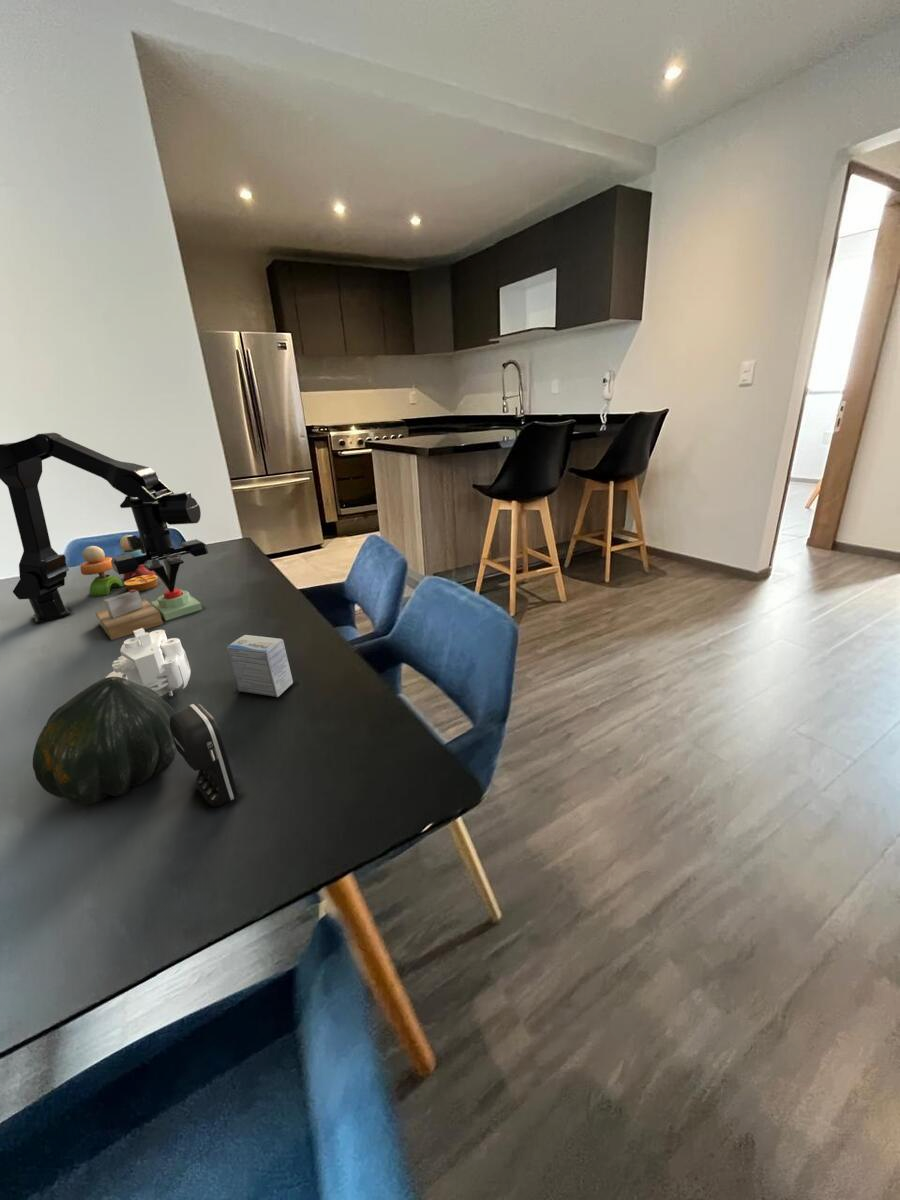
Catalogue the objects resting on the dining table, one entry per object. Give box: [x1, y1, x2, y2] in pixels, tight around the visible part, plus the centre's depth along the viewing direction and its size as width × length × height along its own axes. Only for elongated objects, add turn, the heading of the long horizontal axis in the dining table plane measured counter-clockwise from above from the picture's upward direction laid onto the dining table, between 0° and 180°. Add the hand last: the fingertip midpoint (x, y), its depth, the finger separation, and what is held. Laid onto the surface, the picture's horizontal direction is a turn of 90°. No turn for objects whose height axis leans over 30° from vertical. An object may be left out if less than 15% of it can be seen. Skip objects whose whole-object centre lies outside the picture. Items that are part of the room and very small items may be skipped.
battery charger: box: [169, 702, 239, 808], centre depth 58 cm, size 7×4×11 cm, turn 45°
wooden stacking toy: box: [80, 534, 158, 597], centre depth 135 cm, size 18×17×12 cm
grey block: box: [103, 589, 143, 618], centre depth 108 cm, size 6×2×4 cm, turn 148°
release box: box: [150, 589, 203, 621], centre depth 117 cm, size 11×8×4 cm
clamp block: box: [95, 598, 164, 641], centre depth 110 cm, size 12×11×3 cm
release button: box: [162, 587, 182, 599], centre depth 116 cm, size 4×4×2 cm
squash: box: [32, 677, 177, 806], centre depth 62 cm, size 14×15×15 cm
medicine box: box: [226, 634, 294, 698], centre depth 80 cm, size 8×4×9 cm, turn 71°
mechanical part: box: [105, 628, 191, 698], centre depth 78 cm, size 11×12×12 cm
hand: (171, 590), depth 115 cm, fingers closed, pressing on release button
